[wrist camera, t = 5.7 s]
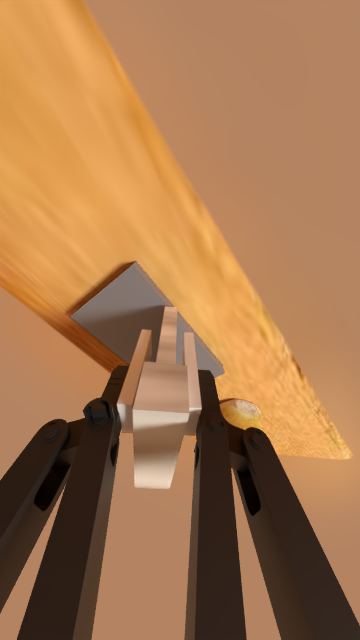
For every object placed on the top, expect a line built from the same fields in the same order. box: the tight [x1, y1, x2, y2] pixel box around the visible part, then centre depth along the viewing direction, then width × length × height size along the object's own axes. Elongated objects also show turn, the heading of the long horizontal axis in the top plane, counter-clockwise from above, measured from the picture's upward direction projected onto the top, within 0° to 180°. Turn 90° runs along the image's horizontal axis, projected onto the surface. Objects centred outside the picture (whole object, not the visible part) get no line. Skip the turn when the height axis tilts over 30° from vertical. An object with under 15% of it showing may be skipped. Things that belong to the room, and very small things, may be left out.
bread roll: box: [220, 399, 262, 430], centre depth 28 cm, size 8×9×4 cm
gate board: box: [70, 261, 225, 378], centre depth 21 cm, size 17×9×2 cm, turn 36°
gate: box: [133, 306, 190, 489], centre depth 15 cm, size 12×3×10 cm, turn 173°
